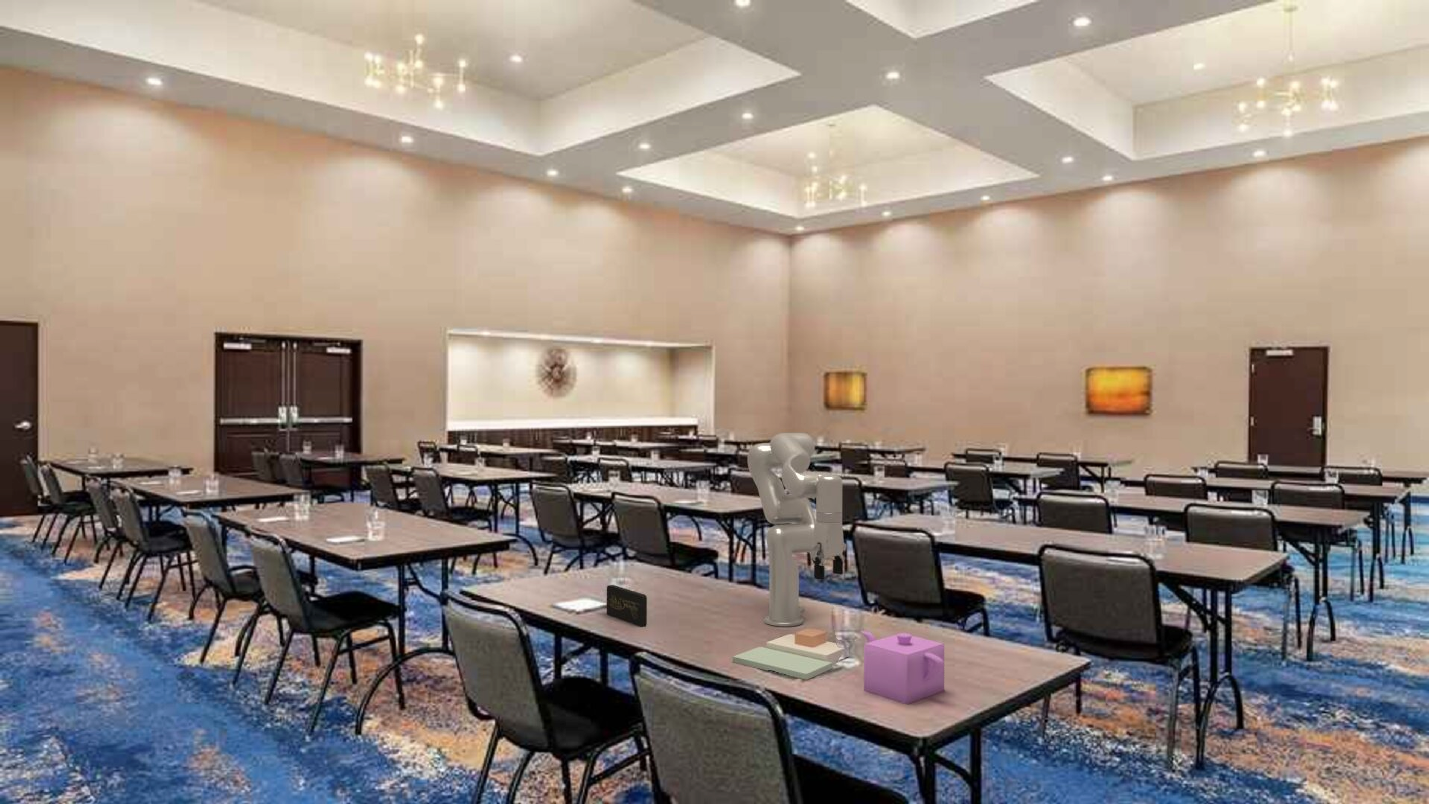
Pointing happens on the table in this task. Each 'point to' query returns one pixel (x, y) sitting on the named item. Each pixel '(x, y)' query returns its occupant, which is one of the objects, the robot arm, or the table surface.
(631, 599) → the nameplate
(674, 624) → the table surface
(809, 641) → the terracotta tile
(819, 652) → the plate
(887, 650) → the teapot
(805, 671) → the sage mat
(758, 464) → the robot arm
